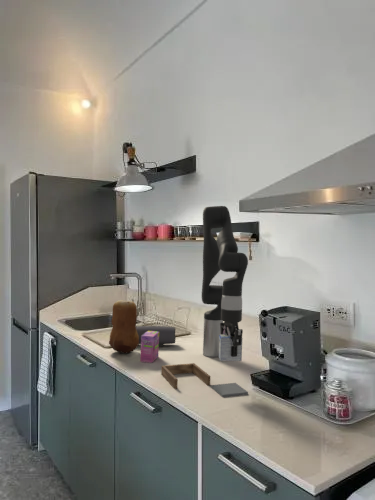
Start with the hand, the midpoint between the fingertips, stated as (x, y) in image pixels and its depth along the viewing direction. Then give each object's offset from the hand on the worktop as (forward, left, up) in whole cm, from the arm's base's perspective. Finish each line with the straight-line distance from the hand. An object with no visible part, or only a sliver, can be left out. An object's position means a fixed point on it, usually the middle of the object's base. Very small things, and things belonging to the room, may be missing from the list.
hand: (230, 353), depth 150 cm
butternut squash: (+26, -60, -14) cm, 67 cm away
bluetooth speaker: (+9, -70, -14) cm, 72 cm away
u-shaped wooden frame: (+11, -15, -13) cm, 23 cm away
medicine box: (0, 0, -2) cm, 2 cm away
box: (+17, -46, -14) cm, 51 cm away
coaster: (0, 0, -13) cm, 13 cm away
